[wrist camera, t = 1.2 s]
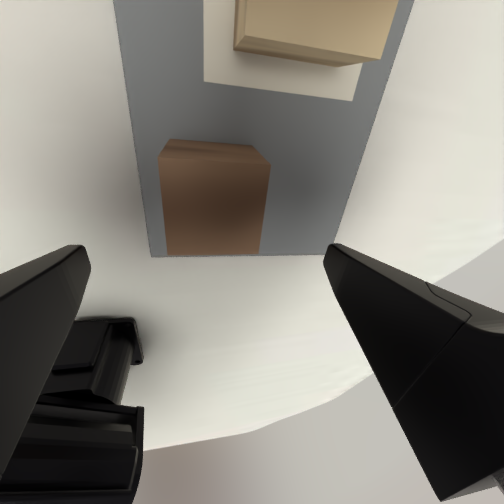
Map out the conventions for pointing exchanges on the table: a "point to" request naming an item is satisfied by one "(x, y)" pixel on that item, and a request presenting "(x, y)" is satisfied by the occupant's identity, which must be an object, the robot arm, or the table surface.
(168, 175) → the walnut cube
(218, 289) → the table surface
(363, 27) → the oak base block
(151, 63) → the mat
